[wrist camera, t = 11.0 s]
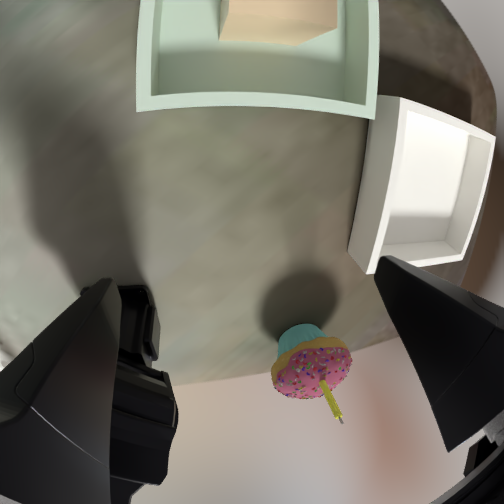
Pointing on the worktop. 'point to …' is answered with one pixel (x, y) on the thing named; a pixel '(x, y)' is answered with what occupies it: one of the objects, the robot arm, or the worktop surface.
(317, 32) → the beige plain cubic block
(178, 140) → the worktop surface
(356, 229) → the bin
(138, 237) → the worktop surface
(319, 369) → the cupcake
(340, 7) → the bin
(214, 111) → the worktop surface
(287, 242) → the worktop surface
